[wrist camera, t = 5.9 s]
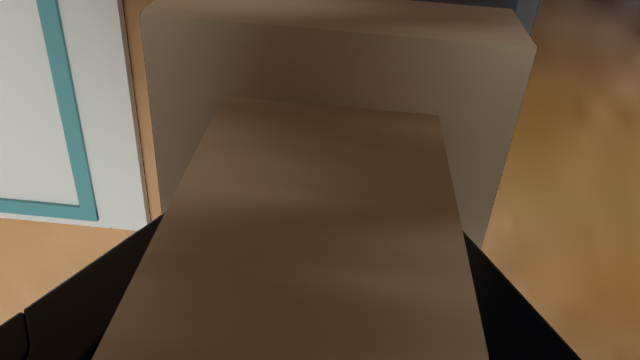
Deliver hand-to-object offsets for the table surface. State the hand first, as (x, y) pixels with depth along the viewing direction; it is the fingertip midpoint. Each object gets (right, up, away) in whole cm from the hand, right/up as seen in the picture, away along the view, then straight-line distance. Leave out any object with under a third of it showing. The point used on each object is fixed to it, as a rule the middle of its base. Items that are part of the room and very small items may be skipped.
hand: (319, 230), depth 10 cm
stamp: (0, +2, +3) cm, 4 cm away
